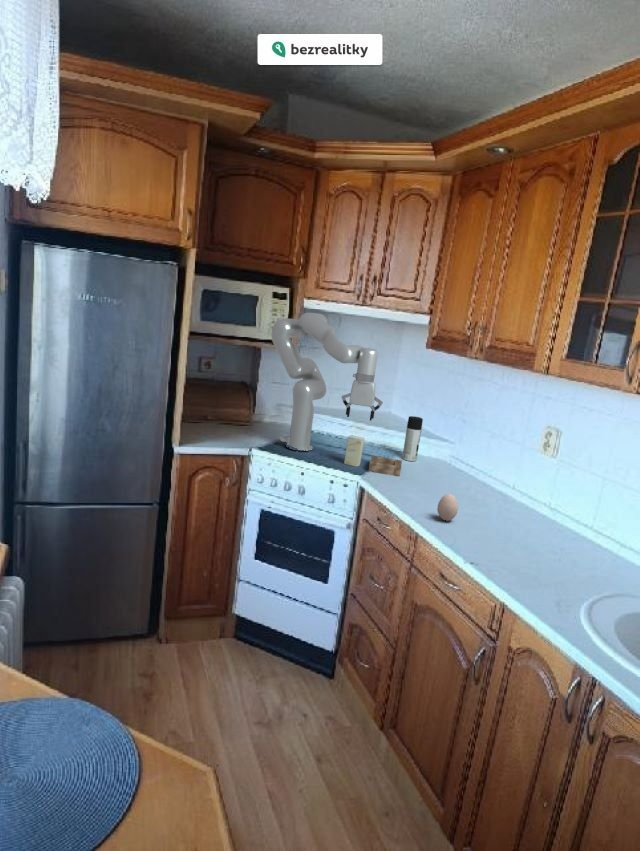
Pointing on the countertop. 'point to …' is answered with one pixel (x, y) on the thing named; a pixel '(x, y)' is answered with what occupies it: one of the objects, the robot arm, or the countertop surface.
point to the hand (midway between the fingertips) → (359, 418)
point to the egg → (447, 507)
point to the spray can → (412, 438)
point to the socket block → (385, 465)
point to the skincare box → (354, 450)
